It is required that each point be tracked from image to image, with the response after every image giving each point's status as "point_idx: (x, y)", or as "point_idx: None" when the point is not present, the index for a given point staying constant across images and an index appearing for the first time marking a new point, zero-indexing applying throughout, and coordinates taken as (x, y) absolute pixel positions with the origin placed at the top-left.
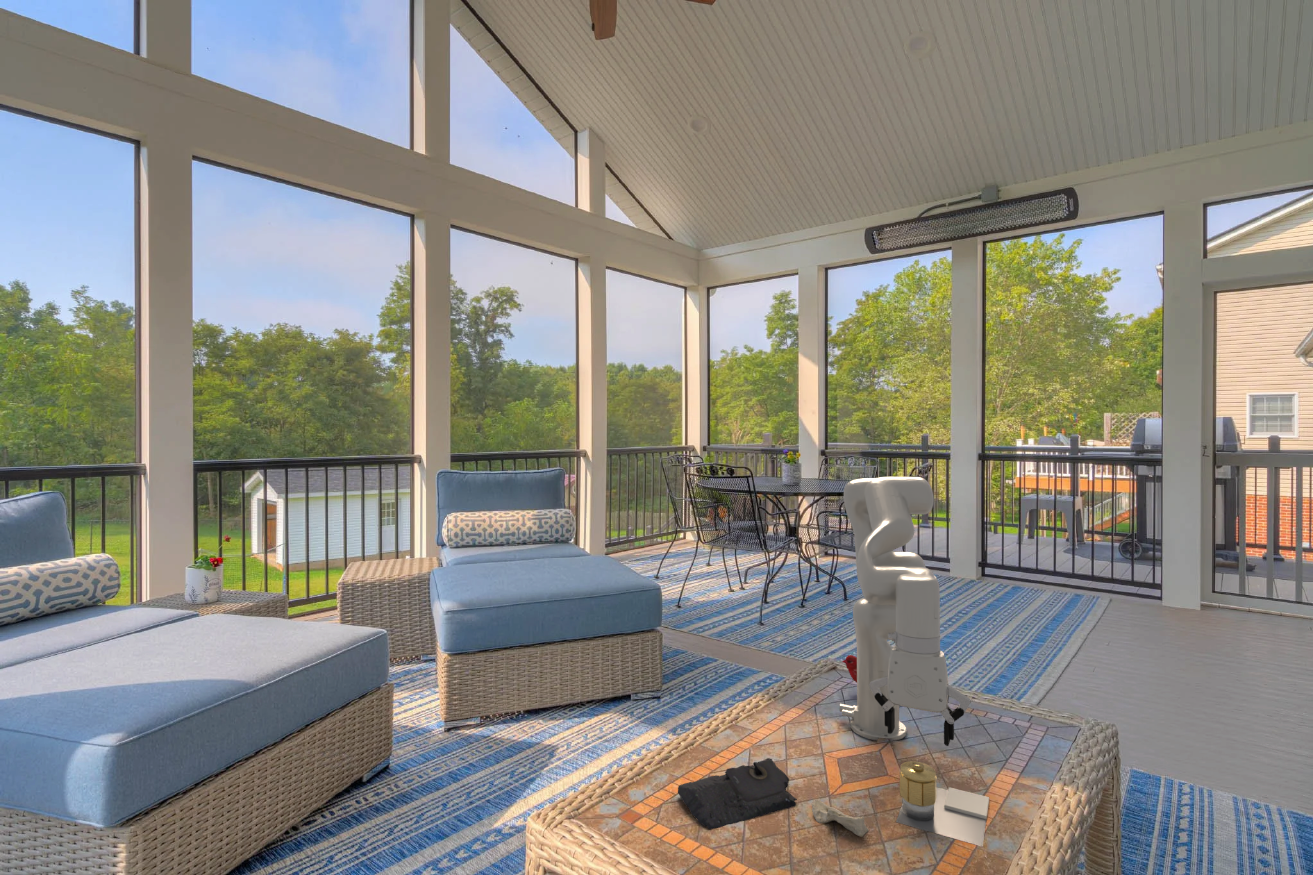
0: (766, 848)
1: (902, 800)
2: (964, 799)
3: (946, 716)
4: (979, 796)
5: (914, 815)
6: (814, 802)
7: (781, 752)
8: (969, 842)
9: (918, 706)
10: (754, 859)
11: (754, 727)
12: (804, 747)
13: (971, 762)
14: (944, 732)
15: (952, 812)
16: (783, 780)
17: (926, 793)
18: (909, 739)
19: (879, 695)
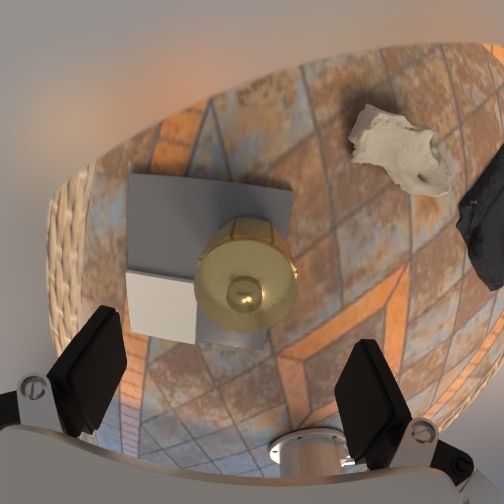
0: (473, 76)
1: None
2: (165, 314)
3: (40, 409)
4: (144, 329)
5: (255, 217)
6: (448, 184)
7: (453, 348)
8: (149, 175)
9: (199, 496)
10: (475, 53)
11: (465, 383)
12: (421, 375)
13: (178, 415)
14: (89, 345)
15: (183, 270)
16: (484, 243)
17: (223, 233)
18: (265, 441)
19: (458, 477)
